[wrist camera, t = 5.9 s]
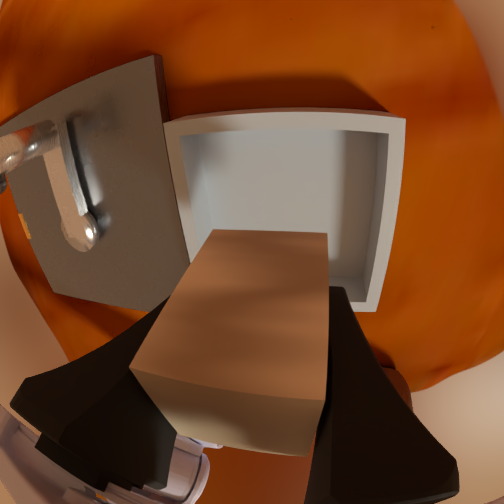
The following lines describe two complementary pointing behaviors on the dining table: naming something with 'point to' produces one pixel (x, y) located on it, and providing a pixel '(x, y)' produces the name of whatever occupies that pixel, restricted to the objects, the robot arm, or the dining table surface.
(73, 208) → the crank
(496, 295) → the dining table surface
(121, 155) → the base plate
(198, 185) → the tray
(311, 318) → the block
